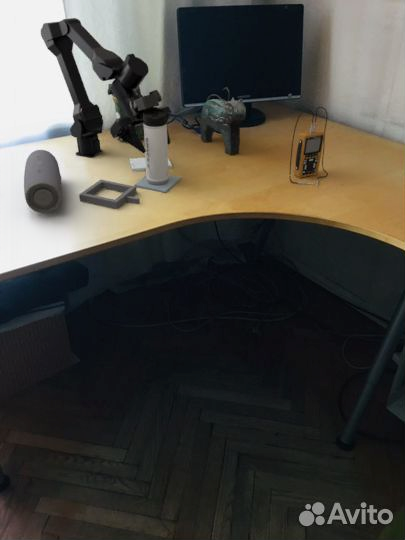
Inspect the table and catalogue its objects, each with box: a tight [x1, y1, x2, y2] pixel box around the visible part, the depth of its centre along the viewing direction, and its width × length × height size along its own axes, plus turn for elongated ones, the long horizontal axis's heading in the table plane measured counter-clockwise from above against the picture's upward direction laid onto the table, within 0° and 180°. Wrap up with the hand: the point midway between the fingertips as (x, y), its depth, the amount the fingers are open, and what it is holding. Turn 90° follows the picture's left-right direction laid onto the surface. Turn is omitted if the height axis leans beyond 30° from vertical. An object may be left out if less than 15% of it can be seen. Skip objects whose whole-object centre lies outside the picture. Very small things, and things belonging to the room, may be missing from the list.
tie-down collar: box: [79, 179, 141, 210], centre depth 124 cm, size 15×10×2 cm
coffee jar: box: [111, 86, 144, 143], centre depth 158 cm, size 10×8×19 cm
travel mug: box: [143, 106, 169, 185], centre depth 127 cm, size 6×7×20 cm
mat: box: [133, 174, 182, 194], centre depth 133 cm, size 10×10×1 cm
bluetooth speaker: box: [23, 149, 62, 214], centre depth 121 cm, size 23×9×10 cm, turn 17°
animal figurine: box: [199, 87, 247, 156], centre depth 151 cm, size 20×6×20 cm, turn 35°
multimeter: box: [289, 106, 328, 187], centre depth 131 cm, size 15×10×20 cm
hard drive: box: [128, 157, 173, 172], centre depth 144 cm, size 2×8×12 cm
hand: (157, 148), depth 127 cm, fingers open, 9 cm apart
